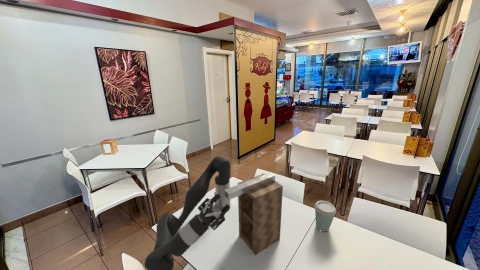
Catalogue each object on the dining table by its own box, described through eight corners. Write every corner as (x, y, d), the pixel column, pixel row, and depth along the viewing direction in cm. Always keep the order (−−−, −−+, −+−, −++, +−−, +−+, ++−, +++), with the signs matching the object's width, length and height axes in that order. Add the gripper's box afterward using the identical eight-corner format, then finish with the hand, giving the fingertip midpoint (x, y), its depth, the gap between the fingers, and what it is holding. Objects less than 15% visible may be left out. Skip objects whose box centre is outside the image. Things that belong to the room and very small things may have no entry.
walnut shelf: (255, 255, 92) (255, 197, 83) (239, 235, 104) (237, 183, 94) (279, 239, 101) (282, 185, 91) (262, 223, 112) (263, 173, 102)
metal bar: (228, 199, 82) (228, 193, 81) (224, 195, 84) (224, 189, 83) (275, 180, 95) (275, 175, 94) (270, 177, 98) (270, 172, 97)
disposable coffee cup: (329, 221, 112) (332, 199, 107) (336, 236, 102) (340, 212, 97) (310, 220, 113) (312, 198, 108) (315, 235, 103) (318, 211, 98)
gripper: (195, 237, 70) (228, 204, 75) (182, 214, 81) (212, 186, 86) (206, 246, 74) (237, 214, 79) (192, 223, 85) (220, 196, 90)
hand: (223, 199), depth 82 cm, fingers open, 8 cm apart
